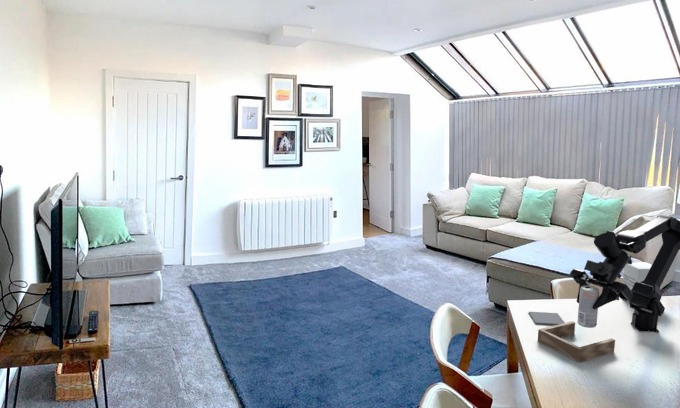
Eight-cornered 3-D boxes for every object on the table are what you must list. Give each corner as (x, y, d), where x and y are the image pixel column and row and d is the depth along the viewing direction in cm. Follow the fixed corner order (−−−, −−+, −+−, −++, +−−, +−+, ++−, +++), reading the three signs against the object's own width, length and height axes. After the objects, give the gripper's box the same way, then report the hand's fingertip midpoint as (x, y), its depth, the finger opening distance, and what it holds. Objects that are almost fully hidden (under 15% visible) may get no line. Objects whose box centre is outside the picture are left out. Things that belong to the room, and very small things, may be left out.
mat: (557, 314, 177) (557, 313, 177) (565, 325, 167) (565, 324, 167) (528, 313, 178) (528, 311, 178) (535, 324, 169) (535, 322, 168)
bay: (571, 332, 162) (572, 321, 161) (613, 352, 148) (615, 339, 147) (537, 341, 156) (538, 329, 155) (578, 362, 142) (580, 349, 141)
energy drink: (592, 321, 155) (595, 285, 153) (599, 328, 150) (602, 291, 148) (574, 320, 156) (577, 285, 153) (581, 327, 150) (584, 291, 148)
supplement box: (641, 297, 194) (645, 261, 192) (657, 306, 186) (662, 268, 183) (620, 298, 194) (623, 261, 191) (634, 306, 185) (639, 268, 182)
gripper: (575, 244, 159) (548, 281, 156) (630, 258, 142) (601, 301, 139) (590, 264, 163) (564, 301, 161) (645, 280, 146) (617, 321, 144)
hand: (585, 305), depth 151 cm, fingers closed on energy drink, 5 cm apart
